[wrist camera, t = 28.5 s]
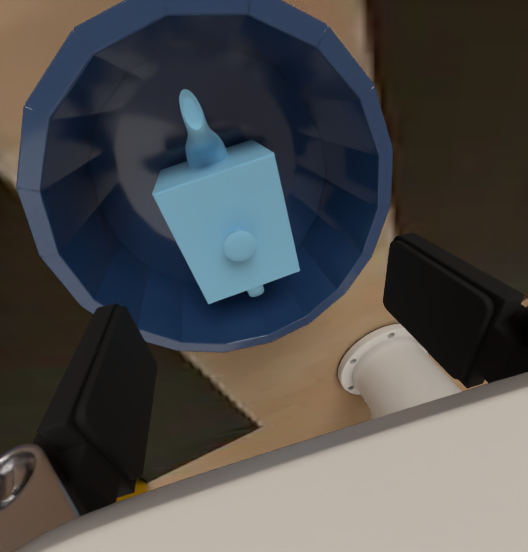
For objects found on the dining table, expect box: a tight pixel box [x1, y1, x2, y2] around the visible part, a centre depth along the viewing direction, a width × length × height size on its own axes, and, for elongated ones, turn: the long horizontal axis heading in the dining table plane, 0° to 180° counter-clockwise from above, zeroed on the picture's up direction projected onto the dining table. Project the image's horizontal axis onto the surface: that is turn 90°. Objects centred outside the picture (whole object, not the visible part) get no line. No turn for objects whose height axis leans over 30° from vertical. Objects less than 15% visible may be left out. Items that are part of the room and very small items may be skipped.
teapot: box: [152, 89, 300, 304], centre depth 16 cm, size 12×6×8 cm, turn 15°
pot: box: [16, 0, 393, 352], centre depth 17 cm, size 18×18×8 cm
